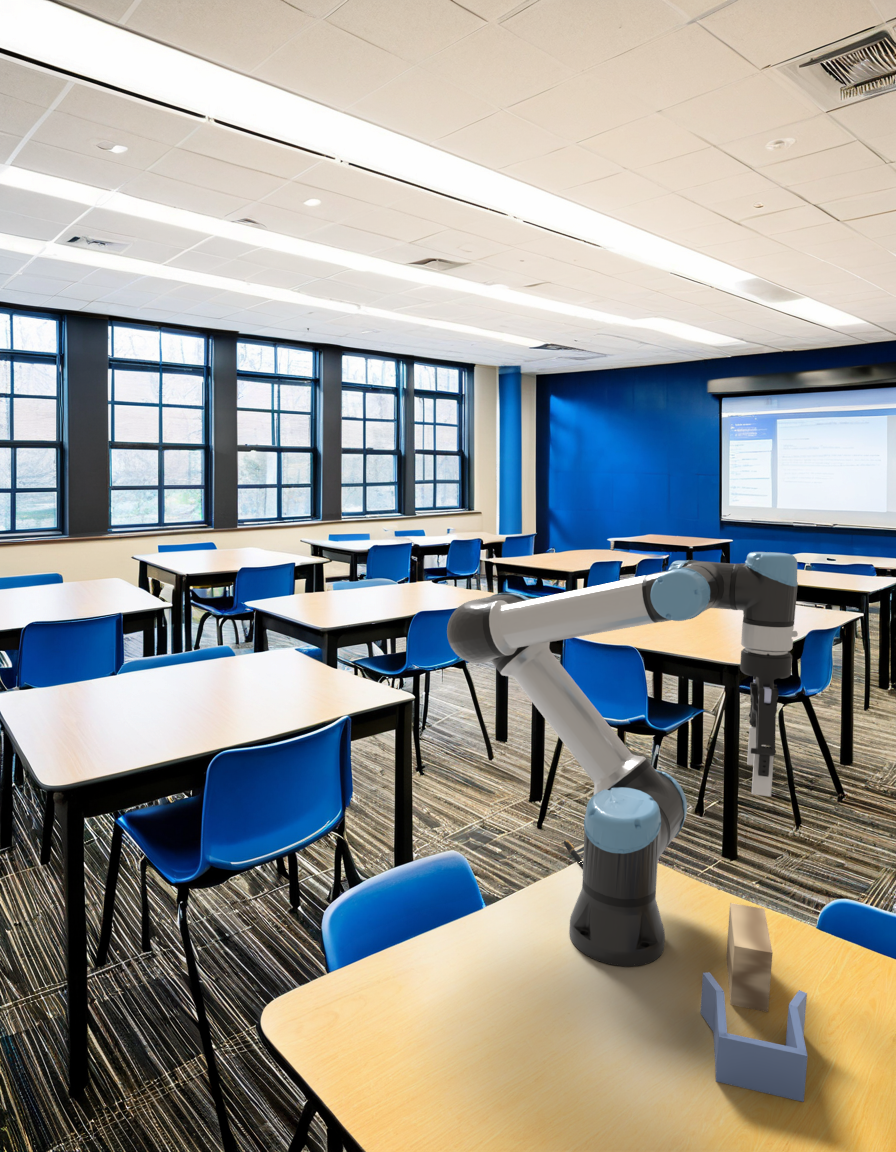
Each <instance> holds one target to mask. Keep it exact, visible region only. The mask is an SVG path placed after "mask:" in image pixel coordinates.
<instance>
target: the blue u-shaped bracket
mask: <svg viewBox="0 0 896 1152" xmlns="http://www.w3.org/2000/svg"><path fill="white" fill-rule="evenodd" d="M701 982H702V984H701V998H700V1011H699V1013H700V1015H701V1016H702V1017H703V1019H704V1020H705V1023H707V1025H708V1026H709V1028H710V1029H711V1031H712V1033H713V1046H714V1047H713V1050H714V1071H715V1072H714V1073H715V1082H716V1083H721V1084H726V1085H728V1086H729V1085H730V1086H733V1087H734V1086H735V1087H738V1088H742V1089H747V1090H751V1091H755V1092H760V1093H763V1094H768V1095H772V1096H776V1097H781V1098H785V1099H789V1100H795V1101H798V1102H802V1103H804V1102H805V1093H806V1091H805V1090H806V1079H807V1068H808V1067H807V1066H808V1051H807V1047H806V1042H805V1038H804V1035H805V1022H806V1013H807V1012H806V1009H807V1000H808V999H807V997H808V993H807V992H805V991H803V990H798V991H797V992H796V994H795V995H794V996H793V998H792V999H791V1001H790V1002H789V1004H788V1010H787V1011H788V1012H787V1023H786V1035H785V1036H786V1037H785V1045H784V1044H779V1043H775V1042H770V1041H766V1040H761V1039H756V1038H753V1037H746V1036H742V1035H737V1034H733V1033H730V1032H728V1029H727V1028H728V1026H727V1012H726V998H725V992H724V990H723V988H722V987H721V985H720V984H719V983H718V981H717V980H716V978H715V977H714V976H713V975H712V974H711V972H709V971H708V972H702V981H701Z"/></svg>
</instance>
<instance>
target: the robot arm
mask: <svg viewBox="0 0 896 1152" xmlns="http://www.w3.org/2000/svg"><path fill="white" fill-rule="evenodd" d="M798 584H799V583H798V560H797V558H796V556H794V555H793V554H791V553H785V552H771V551H769V552H768V551H767V552H765V551H753V552H752V551H751V552H749V553H748V554H747V556H746V560H745V561H744V563H742V562H741V563H728V562H727V563H726V562H715V561H703V560H701V561H700V560H696V559H691V560H690V559H688V560H674V561H673V562H672V563H671V564H670V565H669V568H668V569H667V570H665V571H659V572H654V573H651V574H647V575H641V576H635V577H631V578H627V579H622V580H617V581H613V582H608V583H603V584H599V585H592V586H588V587H583V588H579V589H573V590H569V591H565V592H561V593H555V594H551V595H547V596H542V597H537V598H531V599H530V598H529V597H527V596H525V595H522V594H521V593H520V594H519V593H517V592H514V593H513V592H499V593H496V594H493V595H491V596H486V597H482V598H477V599H472V600H468V601H466V602H464V603H463V604H461V605H459V606H458V607H456V608H455V610H454V611H453V612H452V614H451V616H450V618H449V620H448V623H447V628H446V629H447V630H446V634H447V640H448V644H449V646H450V648H451V649H452V651H453V652H454V653H455V655H457V656H458V657H459V658H461V659H462V660H464V661H466V662H468V663H472V664H485V663H490V662H491V663H492V664H493V666H494V667H495V668H496V670H497V671H498V672H499V674H500V675H501V676H503V677H504V676H505V677H511V678H513V679H514V680H515V681H516V683H517V684H518V685H519V687H520V688H521V689H522V691H523V692H524V693H525V695H526V696H527V697H528V699H529V700H530V701H531V702H532V704H533V705H534V706H535V708H536V710H538V712H539V713H540V714H541V715H542V717H543V718H544V719H545V721H546V722H547V723H548V725H549V726H550V727H551V729H552V730H553V731H554V732H555V734H556V735H557V736H558V738H559V739H560V740H561V742H562V743H563V744H564V745H565V747H566V748H567V749H568V751H569V752H570V754H571V755H572V756H573V758H574V759H575V760H576V761H577V763H578V764H579V766H580V767H581V768H582V769H583V771H584V772H585V774H587V776H588V777H589V779H591V781H592V782H593V786H594V787H593V795H592V796H591V798H590V799H589V800H588V802H587V804H586V809H585V814H584V820H583V828H584V832H583V833H584V834H583V836H584V837H583V856H582V858H583V859H582V861H583V868H582V884H581V885H582V888H581V889H580V893H579V895H578V898H577V900H576V902H575V904H574V908H573V909H572V912H571V913H570V914H571V915H570V919H569V931H568V932H569V933H568V934H569V939H570V940H571V942H572V944H573V945H574V947H576V948H577V950H579V951H580V952H581V953H583V954H584V955H586V956H588V957H589V958H591V959H593V960H596V961H598V962H601V963H604V964H608V965H613V966H621V967H637V966H643V965H647V964H650V963H652V962H654V961H656V960H657V959H658V958H660V957H661V955H662V954H663V953H664V950H665V940H666V939H665V938H666V936H665V935H666V933H665V928H664V923H663V920H662V918H661V913H660V910H659V906H658V903H657V902H658V901H657V899H656V897H657V894H656V893H657V882H658V881H657V880H658V879H657V877H658V865H659V864H658V863H659V860H660V857H661V855H662V854H663V853H664V851H665V850H666V849H667V848H668V846H670V845H669V844H671V842H672V841H673V839H674V838H677V836H678V835H679V833H680V832H681V831H682V828H683V826H684V823H685V821H686V818H687V815H688V814H687V813H688V802H687V797H686V795H685V793H684V789H683V788H682V786H681V785H680V783H679V782H678V781H677V780H676V779H675V778H674V777H673V776H671V774H668V773H667V772H665V771H660V770H658V769H655V768H654V766H653V765H652V764H651V763H650V761H649V760H648V759H647V758H646V757H645V756H642V755H635V754H633V753H632V752H631V751H630V749H629V748H628V747H627V746H626V745H625V744H624V742H623V741H622V740H621V738H620V737H619V736H618V734H617V733H616V732H615V731H614V730H613V729H612V727H611V726H610V725H609V724H608V722H607V721H606V719H605V718H604V717H603V716H602V714H601V713H600V712H599V710H598V709H597V708H596V707H595V705H594V704H593V703H592V702H591V701H590V699H589V698H588V697H587V695H586V694H585V693H584V692H583V690H582V689H581V688H580V686H579V685H578V684H577V683H576V682H575V679H573V678H572V676H571V675H570V674H569V673H568V672H567V670H566V669H565V668H564V666H563V665H562V664H561V662H560V661H559V660H558V659H557V657H556V656H555V655H554V654H553V653H552V651H551V649H550V644H551V643H552V642H557V641H563V640H567V639H573V638H578V637H584V636H590V635H596V634H601V633H607V632H612V631H617V630H624V629H629V628H633V627H634V628H636V627H640V626H645V625H652V624H656V623H663V622H669V621H670V622H671V621H674V622H683V621H687V620H691V619H692V620H693V619H694V618H697V617H698V616H699V615H701V614H702V613H704V612H705V611H707V610H709V609H720V610H732V611H742V612H743V613H742V614H743V618H742V625H741V627H742V628H741V641H740V644H741V646H742V647H743V648H742V650H741V651H740V663H739V669H740V671H741V673H743V674H744V675H746V676H750V677H753V680H752V682H750V685H749V693H750V700H749V701H750V708H749V713H748V717H749V721H748V723H749V727H748V741H747V742H748V745H747V757H746V758H747V759H746V761H747V762H746V764H747V765H748V766H752V768H753V769H752V780H751V781H752V783H751V794H752V795H756V796H764V797H772V790H773V788H772V786H773V774H774V771H773V769H774V760H775V759H774V756H775V755H776V754H777V750H776V725H777V724H776V723H777V720H776V719H777V717H776V716H777V711H778V698H779V692H780V691H779V688H778V685H777V684H775V680H777V679H780V680H781V679H787V678H789V677H790V676H791V675H792V665H793V664H792V663H793V654H792V653H791V652H790V651H791V650H792V649H793V646H794V643H793V642H794V640H793V638H796V637H798V634H799V633H798V631H797V630H794V628H795V626H794V625H795V619H796V608H797V607H796V606H797V605H796V604H797V593H798Z"/></svg>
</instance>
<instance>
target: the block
mask: <svg viewBox="0 0 896 1152" xmlns="http://www.w3.org/2000/svg"><path fill="white" fill-rule="evenodd" d="M768 926H769V925H768V921H767V915H766V909H765V908H763V907H757V906H752V905H750V906H749V905H746V904H745V905H744V904H738V903H734V902H733V903H732V902H730V903H729V914H728V927H727V942H726V955H725V956H726V966H727V967H726V968H727V980H728V989H729V991H728V992H729V1001H730V1003H729V1004H730V1005H731V1006H737V1007H740V1008H746V1009H751V1010H756V1011H762V1012H765V1013H769V1007H770V1006H769V1004H770V992H771V991H770V990H771V979H772V978H771V977H772V967H773V966H772V964H773V949H772V943H771V942H772V941H771V937H770V932H769V927H768Z"/></svg>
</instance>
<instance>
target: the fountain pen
mask: <svg viewBox="0 0 896 1152" xmlns="http://www.w3.org/2000/svg"><path fill="white" fill-rule="evenodd" d="M563 845H564V846H565V848H566V850H567V851H568V852H569V854H570V855H571V856H572V858H573V859H574V860H575V861H576V863H578V862H580V861H582V862H580V863H579V864H580V865H579V864H578V865H579V866H580V867H581V866H582V867H581V869H583V864H582V863H583V859H582V858H581V856H580V855H579V854H578V852H577V851H576V850H575V846H574V845H573V844H572V843H571V842H570V841H569V840H568V839H565V840H564V841H563Z"/></svg>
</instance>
